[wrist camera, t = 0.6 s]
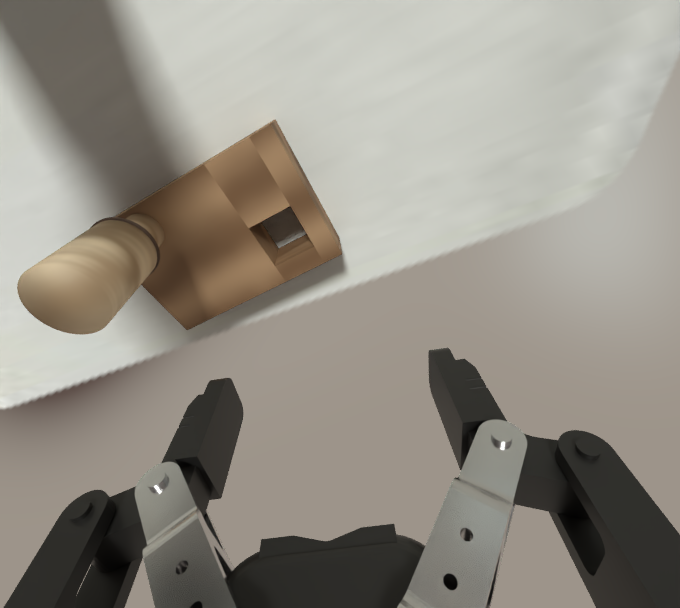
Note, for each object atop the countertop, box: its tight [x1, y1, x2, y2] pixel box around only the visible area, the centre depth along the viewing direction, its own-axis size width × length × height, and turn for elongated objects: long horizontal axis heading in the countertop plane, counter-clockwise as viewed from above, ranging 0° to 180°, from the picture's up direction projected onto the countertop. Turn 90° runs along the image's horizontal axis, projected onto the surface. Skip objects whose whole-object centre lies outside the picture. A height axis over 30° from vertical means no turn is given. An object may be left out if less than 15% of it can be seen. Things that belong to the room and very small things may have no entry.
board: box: [115, 120, 342, 330], centre depth 31 cm, size 12×18×4 cm, turn 117°
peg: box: [17, 213, 164, 334], centre depth 24 cm, size 5×5×11 cm
